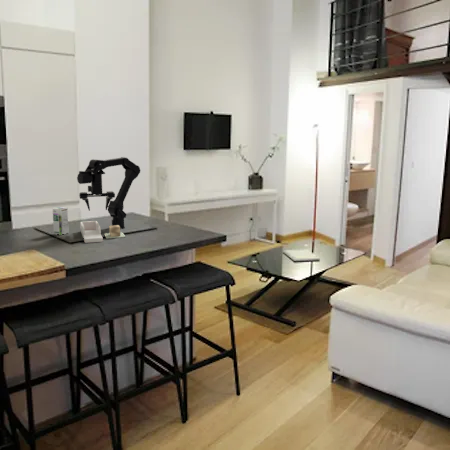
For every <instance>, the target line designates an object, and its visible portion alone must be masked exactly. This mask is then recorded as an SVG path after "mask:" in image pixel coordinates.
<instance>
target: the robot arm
mask: <svg viewBox="0 0 450 450" xmlns="http://www.w3.org/2000/svg"><path fill="white" fill-rule="evenodd" d="M116 166H122V168H123V169H124V179H123V181H122V184H121V186H120V188H119V190H118V193H117V195H116V194H115V192H114V191H113V190H111V191H106V192H103V175H105V174H106V172H105V171H104V170H105V169H106V168H109V167H110V168H111V167H116ZM140 173H141V169H140V166H139V165H137V164H136V163H134V162H132V161H131V160H130V159H129V158H128V157H125V156H121V157H118V158H117V157H116V158H110V159H105V160H104V159H90V161H89V163H88V165H87V167H86V168H85V170H84V171H82V170H79V171H78V174H77V177H76V180H77V182H78V183H79V185H85V184H86V185H87V184H91V185H87V191H86V192H85V191H84V192H79V195H78V196H79V197H78V198H79V199H81V200H82V201H84V202H85V203H86V204H85V205H86V206H87V209H88V211H91V209H90V208H91V207H90V202H89V198H94V197H105V211H107V212H108V214H109V215H110V218H111V217H112V219H111V226H112V225H119V226H120V229H125V218H126V217H127V213H126V212H125V211H124V201H125V200H126V197H127V195H128V192H129V190H130V188H131V186H132V183H133V181H134V180H136V179H137V178H138V176H139V175H140ZM114 198H115V199H114Z"/></svg>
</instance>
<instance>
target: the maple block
mask: <svg viewBox="0 0 450 450" xmlns="http://www.w3.org/2000/svg"><path fill="white" fill-rule="evenodd" d="M108 227H109V228H108V229H109V230H108V231H109V232H108V233H110V236H111V237H114V236H120V232H121V228H120V226H119V225H112V224H111V225H109V226H108Z"/></svg>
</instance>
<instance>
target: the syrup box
mask: <svg viewBox="0 0 450 450" xmlns="http://www.w3.org/2000/svg"><path fill="white" fill-rule="evenodd" d="M68 212H69V211H68V207H63V206H56V207H52V221H53V222H52V223H53V234H54V235H57V234H59V236H63V235H62V234H64V235H67V234H66V233H68V234H69V215H68Z"/></svg>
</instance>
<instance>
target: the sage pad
mask: <svg viewBox="0 0 450 450" xmlns="http://www.w3.org/2000/svg"><path fill="white" fill-rule="evenodd" d="M103 234H104V236H105V239H107V240H108V239H119V238H126V235H125V234H124V233H123V232H122V231H120V236H114V237H111V236H110V233H109V232H108V233H107V232H105V233H103Z"/></svg>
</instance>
